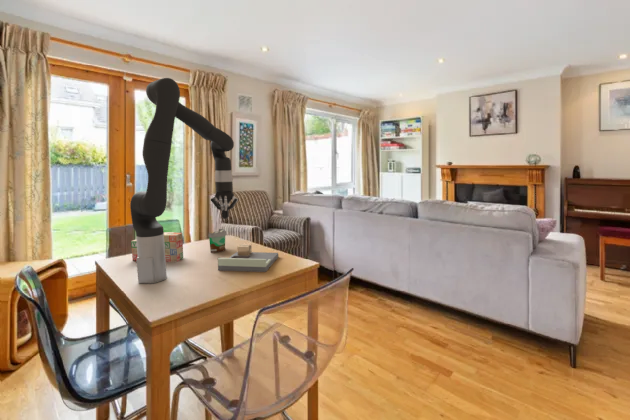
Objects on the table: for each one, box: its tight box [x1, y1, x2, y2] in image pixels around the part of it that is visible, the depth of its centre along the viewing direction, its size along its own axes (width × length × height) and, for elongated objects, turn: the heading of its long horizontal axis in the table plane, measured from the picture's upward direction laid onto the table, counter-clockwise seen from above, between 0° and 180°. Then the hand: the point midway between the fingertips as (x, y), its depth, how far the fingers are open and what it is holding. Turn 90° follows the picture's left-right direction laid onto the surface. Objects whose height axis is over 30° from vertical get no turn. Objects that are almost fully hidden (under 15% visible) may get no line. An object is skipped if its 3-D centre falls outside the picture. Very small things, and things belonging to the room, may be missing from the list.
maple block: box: [236, 243, 253, 256], centre depth 152 cm, size 5×5×4 cm
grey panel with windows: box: [217, 251, 279, 273], centre depth 144 cm, size 22×20×5 cm
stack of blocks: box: [130, 231, 184, 263], centre depth 151 cm, size 21×6×12 cm, turn 85°
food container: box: [208, 228, 228, 254], centre depth 166 cm, size 12×6×10 cm, turn 171°
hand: (225, 218), depth 151 cm, fingers closed
